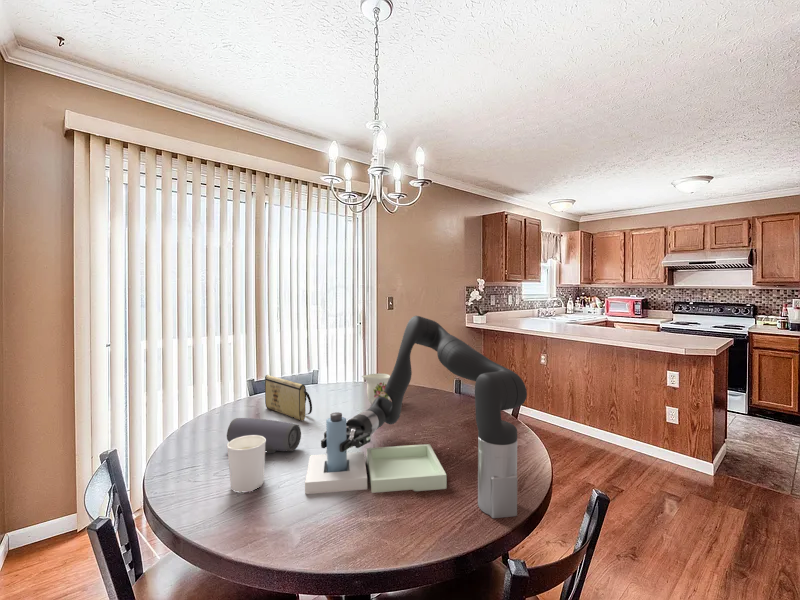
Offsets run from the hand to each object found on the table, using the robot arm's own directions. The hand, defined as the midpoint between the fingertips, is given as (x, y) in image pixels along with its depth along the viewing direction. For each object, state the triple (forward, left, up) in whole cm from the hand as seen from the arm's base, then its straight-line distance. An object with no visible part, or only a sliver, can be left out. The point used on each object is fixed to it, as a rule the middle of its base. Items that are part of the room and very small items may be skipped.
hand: (331, 446), depth 105 cm
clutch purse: (+62, +20, -10) cm, 66 cm away
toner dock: (+2, -1, -10) cm, 10 cm away
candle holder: (+2, +23, -10) cm, 25 cm away
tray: (+2, -20, -10) cm, 23 cm away
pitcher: (+67, -20, -10) cm, 71 cm away
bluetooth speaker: (+25, +23, -10) cm, 35 cm away
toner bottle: (+2, -1, -9) cm, 10 cm away
